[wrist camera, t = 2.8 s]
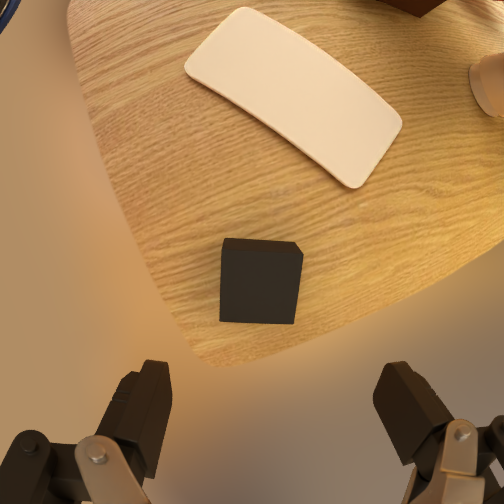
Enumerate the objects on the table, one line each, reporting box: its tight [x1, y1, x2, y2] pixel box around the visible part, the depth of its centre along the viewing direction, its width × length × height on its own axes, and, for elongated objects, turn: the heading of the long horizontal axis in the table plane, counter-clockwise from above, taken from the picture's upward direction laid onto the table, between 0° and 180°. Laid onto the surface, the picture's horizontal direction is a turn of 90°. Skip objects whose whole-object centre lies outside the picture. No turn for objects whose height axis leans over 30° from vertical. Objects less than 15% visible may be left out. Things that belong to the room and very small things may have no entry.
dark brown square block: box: [219, 238, 303, 324], centre depth 19 cm, size 5×5×3 cm
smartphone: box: [184, 7, 402, 188], centre depth 16 cm, size 7×1×15 cm
